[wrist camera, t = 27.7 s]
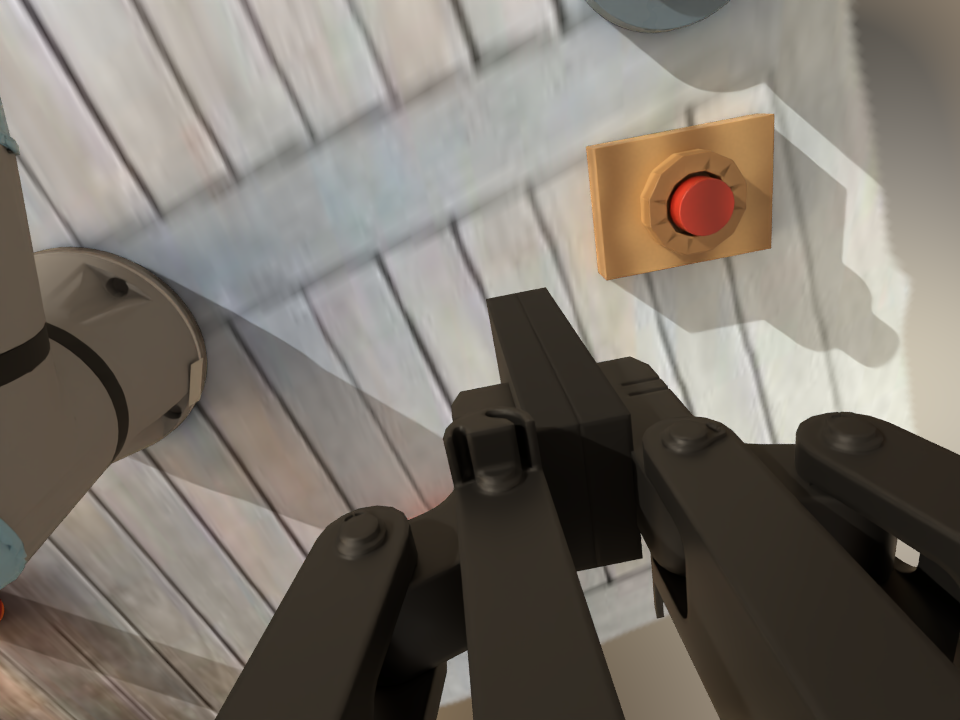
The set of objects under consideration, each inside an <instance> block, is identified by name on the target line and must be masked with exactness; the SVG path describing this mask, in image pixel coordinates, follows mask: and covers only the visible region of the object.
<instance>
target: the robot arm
mask: <svg viewBox="0 0 960 720" xmlns="http://www.w3.org/2000/svg"><path fill="white" fill-rule="evenodd" d="M16 155H20V152H19V147H18V144H17V143H16V141H15V140H14V139H13V138H11V137H10V134H9V130H8V125H7V121H6V117H5V113H4V109H3V105H2V101H1V97H0V589H2V588H4V587H5V586H6V585H8V584H9V583H11V582H13V581H14V580H15V579H16V578H17V577H18V576H19V575H20V574H21V572H22V571H23V569H24V568H25V564H26V563H27V562H28V561H29V560H30V559H31V557H32V556H33V555H34V554H35V553H36V551H37V550H38V549H39V548H40V547H41V546H42V544H43V543H44V542H45V541H46V540H47V538H48V537H49V536H50V535H51V534H52V533H53V531H54V530H55V529H56V528H57V527H58V525H59V524H60V523H61V522H62V521H63V520H64V518H65V517H66V516H67V515H68V514H69V512H70V511H71V510H72V509H73V508H74V507H75V505H76V504H77V503H78V502H79V501H80V500H81V498H82V497H83V496H84V495H85V494H86V492H87V491H88V490H89V489H90V488H91V487H92V485H93V484H94V483H95V482H96V481H97V479H98V478H99V477H100V476H101V475H102V474H103V472H104V471H105V470H106V469H107V468H108V466H109V465H110V464H111V463H114V462H116V461H118V460H120V459H122V458H125V457H127V456H129V455H131V454H134V453H136V452H138V451H140V450H142V449H145V448H147V447H149V446H151V445H153V444H155V443H157V442H158V441H160V440H161V439H163V438H164V437H166V436H167V435H168V434H169V433H171V432H172V431H174V430H175V429H176V428H177V427H178V426H179V425H180V424H181V423H182V422H183V421H184V419H185V418H186V417H187V416H188V414H189V413H190V412H191V411H192V409H193V408H194V406H195V405H196V403H197V402H198V400H200V396H201V393H202V391H203V388H204V384H205V380H206V374H207V355H206V349H205V344H204V340H203V337H202V334H201V331H200V329H199V327H198V325H197V322H196V321H195V319H194V317H193V315H192V314H191V312H190V310H189V309H188V308H187V306H186V305H185V303H184V302H183V301H182V300H181V299H180V297H179V296H178V295H177V294H176V293H175V292H174V291H173V290H172V289H171V288H170V287H169V286H168V285H167V284H166V283H164V282H163V281H162V280H161V279H160V278H158V277H157V276H155V275H154V274H153V273H151V272H150V271H148V270H147V269H145V268H143V267H142V266H140V265H138V264H136V263H134V262H132V261H130V260H128V259H125V258H123V257H120V256H118V255H115V254H112V253H108V252H105V251H100V250H96V249H90V248H83V247H59V248H51V249H46V250H42V251H38V252H35V253H33V247H32V242H31V237H30V231H29V226H28V220H27V215H26V209H25V204H24V198H23V193H22V188H21V182H20V177H19V171H18V166H17V160H16ZM486 302H487V307H488V313H489V319H490V324H491V330H492V335H493V341H494V346H495V352H496V358H497V363H498V369H499V374H500V380H501V384H497V385H492V386H487V387H482V388H477V389H472V390H467V391H462V392H460V393H459V394H458V396H457V398H456V399H455V401H454V402H453V404H452V405H451V408H452V419H453V422H452V423H451V424H450V425H449V426H448V427H447V428H446V430H445V433H444V437H443V441H444V445H445V450H446V454H447V458H448V462H449V467H450V471H451V475H452V480H453V484H454V490H453V492H452V493H451V494H450V495H449V496H448V498H447V499H446V500H445V501H443V502H442V503H441V504H439V505H438V506H437V507H436V508H434V509H432V510H430V511H428V512H426V513H424V514H422V515H420V516H417V517H415V518H413V519H410V520H407V518H406V516H405V515H404V513H403V512H401V511H399V510H397V509H395V508H393V507H387V506H371V507H365V508H360V509H357V510H355V511H352V512H350V513H347V514H345V515H343V516H341V517H340V518H338V519H337V520H335V521H334V522H333V523H331V524H330V525H328V526H327V527H326V528H325V530H324V531H323V532H322V533H321V535H320V536H319V537H318V538H317V540H316V542H315V543H314V545H313V547H312V549H311V550H310V552H309V554H308V556H307V558H306V559H305V561H304V563H303V565H302V566H301V568H300V570H299V572H298V573H297V575H296V577H295V579H294V581H293V582H292V584H291V586H290V588H289V589H288V591H287V593H286V595H285V596H284V598H283V600H282V602H281V604H280V605H279V607H278V609H277V611H276V612H275V614H274V616H273V618H272V619H271V621H270V623H269V625H268V627H267V628H266V630H265V632H264V634H263V635H262V637H261V639H260V641H259V642H258V644H257V646H256V648H255V650H254V651H253V653H252V655H251V657H250V658H249V660H248V662H247V664H246V665H245V667H244V669H243V671H242V673H241V674H240V676H239V678H238V680H237V681H236V683H235V685H234V687H233V688H232V690H231V692H230V694H229V696H228V697H227V699H226V701H225V703H224V704H223V706H222V708H221V710H220V711H219V713H218V715H217V717H216V719H215V720H436V718H437V714H438V710H439V705H440V700H441V696H442V691H443V687H444V682H445V678H446V673H447V661H448V660H449V659H451V658H453V657H455V656H457V655H459V654H461V653H463V652H465V651H467V650H468V661H469V673H470V685H471V697H472V708H473V720H625V717H624V714H623V711H622V708H621V705H620V702H619V699H618V696H617V693H616V690H615V687H614V684H613V681H612V678H611V675H610V672H609V669H608V666H607V663H606V660H605V657H604V654H603V651H602V648H601V645H600V642H599V639H598V636H597V633H596V630H595V627H594V624H593V621H592V618H591V614H590V611H589V608H588V605H587V602H586V599H585V596H584V593H583V590H582V587H581V584H580V581H579V578H578V575H577V571H582V570H587V569H592V568H597V567H602V566H607V565H612V564H616V563H621V562H626V561H631V560H636V559H641V558H643V557H642V544H641V534H642V536H643V538H644V540H645V542H646V544H647V546H648V548H649V550H650V552H651V565H652V578H653V591H654V605H655V611H656V616H657V618H662V617H664V611H663V602H664V603H665V605H666V608H667V610H668V612H669V614H670V616H671V618H672V620H673V622H674V624H675V626H676V628H677V631H678V633H679V635H680V637H681V639H682V641H683V643H684V645H685V647H686V649H687V651H688V653H689V656H690V658H691V660H692V661H693V664H694V666H695V668H696V670H697V672H698V674H699V676H700V678H701V681H702V682H703V685H704V686H705V689H706V691H707V693H708V695H709V697H710V699H711V701H712V703H713V705H714V708H715V709H716V712H717V714H718V716H719V718H720V720H960V455H958V454H956V453H954V452H952V451H950V450H948V449H945V448H943V447H941V446H939V445H937V444H935V443H932V442H930V441H928V440H926V439H924V438H922V437H920V436H917V435H915V434H913V433H911V432H909V431H907V430H904V429H902V428H900V427H898V426H896V425H894V424H891V423H889V422H886V421H884V420H881V419H878V418H875V417H872V416H868V415H861V414H855V413H852V412H841V413H838V412H833V413H825V414H821V415H817V416H812V417H810V418H808V419H807V420H805V421H803V422H802V423H800V425H799V427H798V429H797V431H796V444H747V443H744V442H743V441H742V440H741V439H740V438H739V437H738V436H737V435H736V434H735V433H734V432H733V431H732V430H731V429H729V428H728V427H727V426H725V425H724V424H722V423H721V422H717V421H714V420H711V419H708V418H704V417H694V416H693V415H692V414H691V413H690V411H689V410H688V409H687V408H686V407H685V406H684V405H683V403H682V402H681V401H680V400H679V399H678V398H677V397H676V395H675V394H674V393H673V392H672V391H671V390H670V389H668V386H667V385H666V384H665V383H664V382H663V380H662V379H659V376H658V375H657V374H656V372H655V371H654V370H653V369H652V368H651V367H650V366H649V365H648V364H646V363H644V362H641V361H639V360H637V359H635V358H632V357H625V358H620V359H615V360H610V361H605V362H599V363H596V361H595V360H594V358H593V357H592V356H591V354H590V353H589V351H588V350H587V348H586V347H585V345H584V344H583V342H582V341H581V339H580V338H579V336H578V335H577V333H576V332H575V330H574V329H573V327H572V326H571V324H570V323H569V321H568V320H567V318H566V317H565V315H564V314H563V312H562V311H561V309H560V308H559V306H558V305H557V304H556V302H555V301H554V299H553V298H552V296H551V295H550V293H549V292H548V290H547V289H546V287H545V288H540V289H535V290H530V291H525V292H520V293H515V294H509V295H504V296H499V297H494V298H489V299H486ZM897 538H898V539H899V540H901V541H902V542H904V543H905V544H907V545H909V546H910V547H912V548H913V549H915V550H916V551H918V552H920V557H919V563H918V566H917V567H913V566H910V565H909V564H906V563H905V562H903V561H901V560H900V559H898V558H897V557H895V552H896V545H897Z"/></svg>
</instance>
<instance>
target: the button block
mask: <svg viewBox="0 0 960 720" xmlns="http://www.w3.org/2000/svg"><path fill="white" fill-rule="evenodd" d="M586 150H587V160H588V171H589V181H590V191H591V202H592V212H593V222H594V233H595V243H596V253H597V264H598V272H599V274H601V275H602V276H603V277H604V278H605V279H606V280H611V279H616V278H622V277H627V276H632V275H637V274H642V273H647V272H652V271H657V270H662V269H668V268H673V267H678V266H683V265H688V264H693V263H698V262H703V261H708V260H714V259H719V258H724V257H729V256H734V255H739V254H744V253H749V252H754V251H759V250H765V249H770V248H771V234H772V193H773V152H774V114H752V115H747V116H741V117H736V118H731V119H726V120H721V121H716V122H710V123H705V124H700V125H695V126H690V127H685V128H679V129H674V130H669V131H664V132H659V133H654V134H648V135H643V136H638V137H633V138H628V139H623V140H617V141H612V142H607V143H602V144H597V145H592V146H587V147H586ZM694 176H707V177H711V178H716V179H719V180H721V181H723V182H725V183H726V184H727V185H728V186H729V187H730V188H731V190H732V192H733V195H734V202H735V204H734V210H733V214H732V216H731V218H730V220H729V221H728V223H727V224H726V225H725V226H724V227H723V228H722V229H721V230H719V231H718V232H716V233H714V234H712V235H708V236H696V235H693V234H691V233H689V232H687V231H685V230H682V229H680V228H679V227H678V226H677V225H676V224H675V223H674V222H673V220H672V218H671V215H670V201H671V197H672V195H673V193H674V191H675V190H676V188H677V187H678V186H679V185H680V184H681V183H682V182H683V181H685V180H687V179H688V178H691V177H694Z"/></svg>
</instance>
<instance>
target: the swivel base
mask: <svg viewBox="0 0 960 720" xmlns="http://www.w3.org/2000/svg"><path fill="white" fill-rule="evenodd" d="M585 1H586V2H587V3H588V4H589V5H590V6H591V7H592V8H593V9H594V10H595V11H596V12H597V13H599V14H600V15H601V16H602V17H604V18H605V19H607V20H608V21H610V22H612V23H614V24H616V25H618V26H620V27H623V28H626V29H629V30H633V31H638V32H645V33H658V32H667V31H671V30H675V29H679V28H682V27H686V26H689V25H691V24H694V23H696V22H699V21H701V20H703V19H705V18H706V17H708V16H710V15H712V14H713V13H715V12H716V11H718V10H719V9H720V8H722V7H723V6H724V5H725V4H727V3H728V2H729V1H730V0H585Z"/></svg>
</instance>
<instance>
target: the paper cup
mask: <svg viewBox="0 0 960 720" xmlns="http://www.w3.org/2000/svg"><path fill="white" fill-rule="evenodd" d="M3 615H4V606H3V603H2V601H1V599H0V621H1V619H2V617H3Z"/></svg>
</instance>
